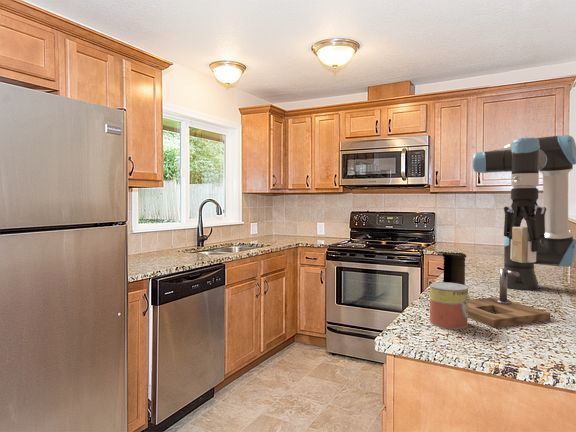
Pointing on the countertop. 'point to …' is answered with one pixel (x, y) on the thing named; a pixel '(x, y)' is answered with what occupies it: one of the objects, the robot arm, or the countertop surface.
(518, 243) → the box
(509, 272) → the door lever handle
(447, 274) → the container
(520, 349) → the countertop surface
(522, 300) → the countertop surface
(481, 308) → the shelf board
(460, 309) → the canned food
